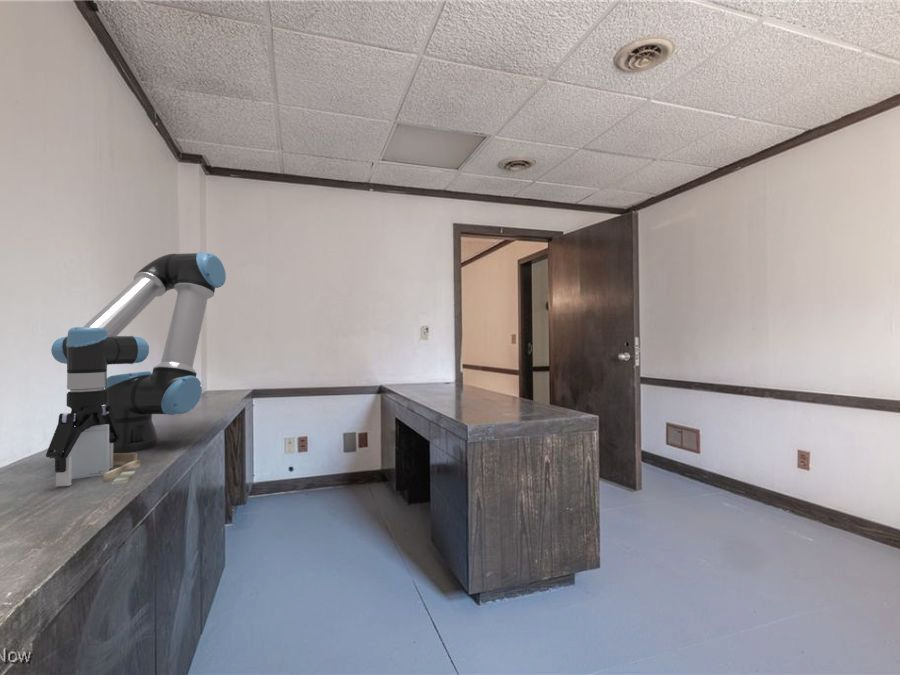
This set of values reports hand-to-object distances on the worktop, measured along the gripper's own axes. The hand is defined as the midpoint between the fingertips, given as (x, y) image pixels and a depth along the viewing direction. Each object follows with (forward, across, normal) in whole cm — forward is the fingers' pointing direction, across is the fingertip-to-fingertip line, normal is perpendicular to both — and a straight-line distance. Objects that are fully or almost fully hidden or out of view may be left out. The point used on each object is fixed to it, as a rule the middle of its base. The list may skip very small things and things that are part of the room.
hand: (86, 476), depth 104 cm
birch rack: (0, 0, 0) cm, 0 cm away
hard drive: (0, 0, 0) cm, 1 cm away
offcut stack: (+1, +3, +11) cm, 11 cm away
